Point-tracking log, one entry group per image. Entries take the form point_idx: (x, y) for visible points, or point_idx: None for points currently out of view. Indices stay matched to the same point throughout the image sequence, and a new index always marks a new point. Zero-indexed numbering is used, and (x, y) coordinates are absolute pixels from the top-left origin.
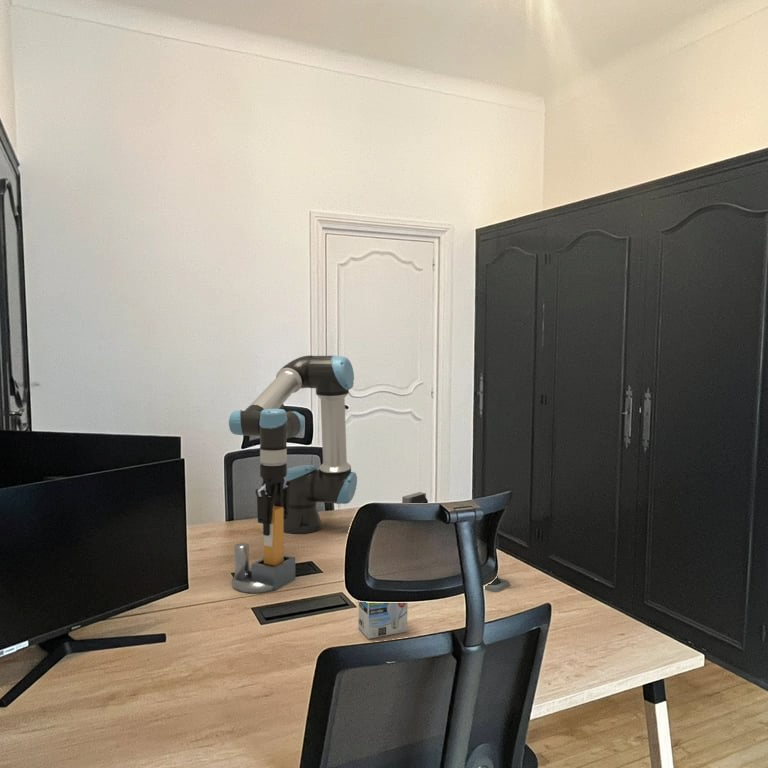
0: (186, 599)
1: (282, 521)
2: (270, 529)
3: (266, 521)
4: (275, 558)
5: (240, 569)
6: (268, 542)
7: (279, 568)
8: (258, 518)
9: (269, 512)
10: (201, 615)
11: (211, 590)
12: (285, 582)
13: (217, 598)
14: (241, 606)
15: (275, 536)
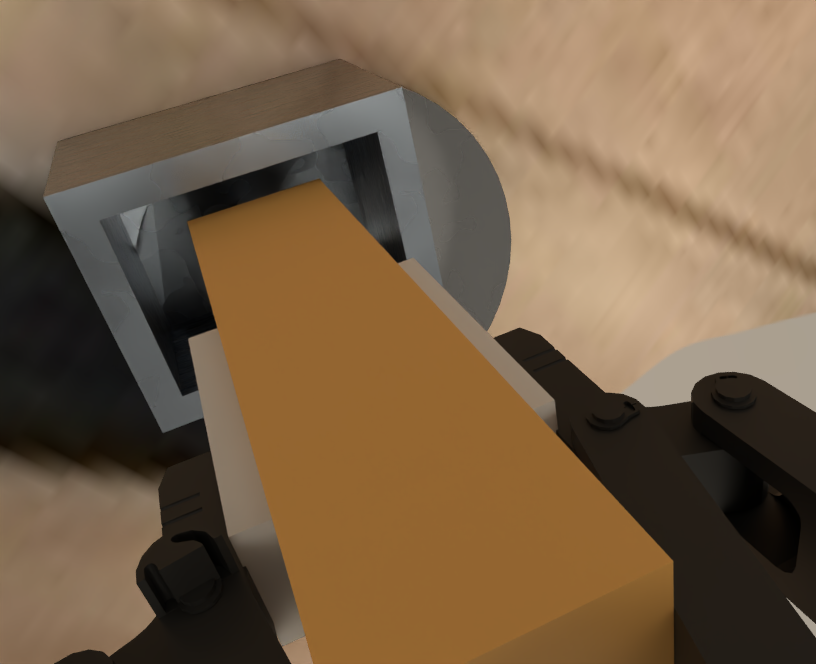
0: (699, 314)
1: (292, 465)
2: (513, 371)
3: (734, 392)
4: (332, 200)
5: None
6: None
7: (318, 105)
8: (794, 509)
9: (743, 546)
10: (800, 85)
11: (568, 341)
12: (202, 103)
13: (621, 224)
14: (632, 14)
15: (414, 294)
